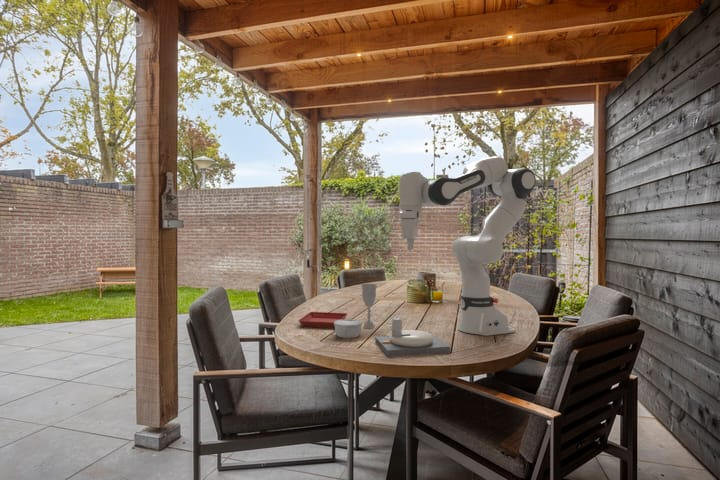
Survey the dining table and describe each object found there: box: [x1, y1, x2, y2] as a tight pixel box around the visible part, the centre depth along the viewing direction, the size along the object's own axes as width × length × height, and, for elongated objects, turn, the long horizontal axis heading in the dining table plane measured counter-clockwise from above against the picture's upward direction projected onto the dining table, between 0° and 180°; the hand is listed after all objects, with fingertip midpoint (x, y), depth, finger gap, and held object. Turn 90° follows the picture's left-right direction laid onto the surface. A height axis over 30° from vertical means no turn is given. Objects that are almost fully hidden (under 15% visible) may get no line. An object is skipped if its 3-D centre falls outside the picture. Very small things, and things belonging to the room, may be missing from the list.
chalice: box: [360, 283, 378, 329], centre depth 175 cm, size 7×7×18 cm
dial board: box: [374, 334, 451, 357], centre depth 146 cm, size 22×17×3 cm
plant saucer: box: [298, 311, 348, 329], centre depth 182 cm, size 18×18×3 cm
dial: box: [389, 317, 434, 347], centre depth 145 cm, size 15×15×8 cm
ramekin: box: [334, 318, 363, 339], centre depth 162 cm, size 11×11×5 cm
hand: (410, 250), depth 158 cm, fingers closed
